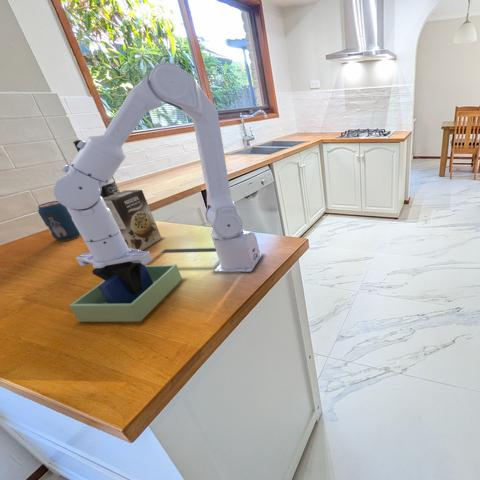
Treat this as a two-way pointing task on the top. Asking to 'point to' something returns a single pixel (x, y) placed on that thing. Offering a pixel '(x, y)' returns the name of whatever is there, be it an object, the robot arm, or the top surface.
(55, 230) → the soda can
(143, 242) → the coffee box
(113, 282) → the blue flat block
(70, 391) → the top surface
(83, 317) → the bin
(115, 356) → the top surface
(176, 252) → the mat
